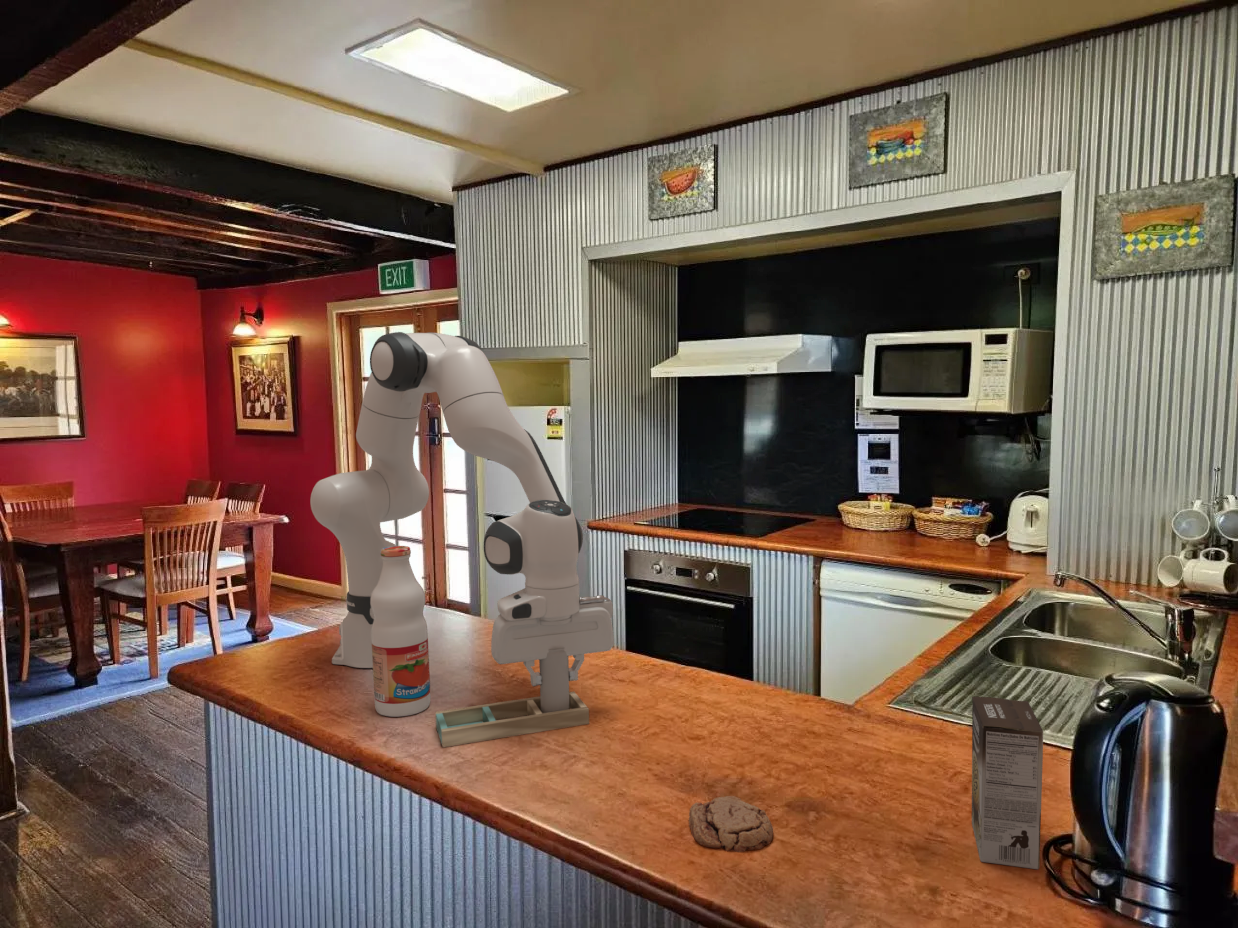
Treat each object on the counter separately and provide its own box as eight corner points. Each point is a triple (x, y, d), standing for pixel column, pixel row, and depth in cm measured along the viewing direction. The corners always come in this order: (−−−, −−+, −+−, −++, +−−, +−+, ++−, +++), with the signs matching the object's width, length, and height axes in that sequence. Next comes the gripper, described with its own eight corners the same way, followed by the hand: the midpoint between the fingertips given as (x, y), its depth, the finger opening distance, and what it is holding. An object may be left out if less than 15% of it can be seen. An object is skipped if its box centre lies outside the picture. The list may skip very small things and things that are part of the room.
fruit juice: (400, 694, 151) (392, 541, 148) (442, 701, 146) (435, 544, 144) (363, 713, 142) (354, 551, 140) (406, 721, 138) (398, 555, 136)
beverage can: (571, 710, 140) (570, 640, 139) (567, 721, 135) (565, 650, 134) (543, 709, 141) (541, 640, 140) (538, 721, 136) (536, 649, 135)
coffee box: (969, 822, 102) (971, 694, 101) (1026, 828, 101) (1029, 699, 99) (978, 862, 94) (980, 723, 92) (1041, 870, 92) (1044, 729, 90)
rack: (435, 726, 136) (435, 711, 135) (574, 705, 143) (574, 691, 143) (442, 747, 128) (442, 731, 127) (589, 723, 135) (588, 708, 135)
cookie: (763, 862, 95) (763, 837, 95) (675, 844, 99) (675, 820, 99) (781, 820, 104) (781, 797, 104) (700, 805, 109) (700, 783, 108)
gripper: (606, 589, 143) (607, 668, 144) (487, 601, 136) (490, 683, 137) (618, 598, 137) (620, 680, 138) (495, 611, 130) (497, 697, 131)
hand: (554, 682), depth 138 cm, fingers closed on beverage can, 5 cm apart
